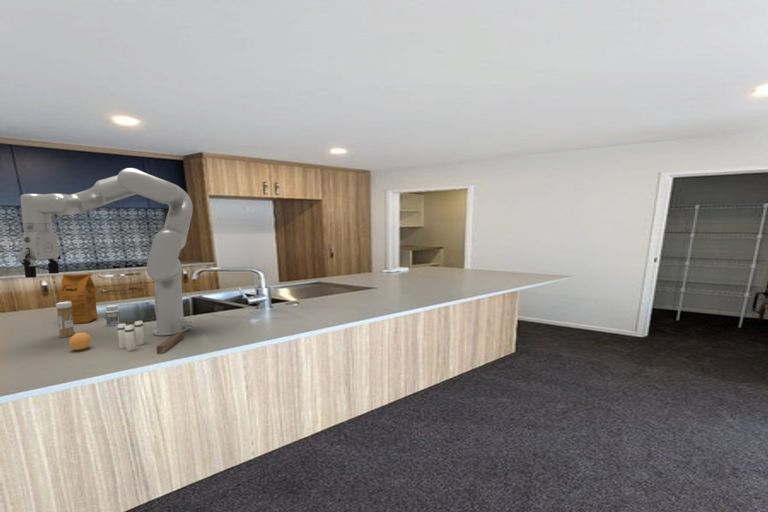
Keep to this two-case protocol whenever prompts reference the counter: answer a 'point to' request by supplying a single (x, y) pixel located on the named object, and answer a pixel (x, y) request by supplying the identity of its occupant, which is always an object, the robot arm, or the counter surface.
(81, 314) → the coffee package
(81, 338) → the ball
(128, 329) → the pin
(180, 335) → the brown wooden bar
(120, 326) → the front pin
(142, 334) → the pin
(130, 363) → the counter surface
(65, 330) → the sprinkles bottle
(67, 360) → the counter surface
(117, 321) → the pill bottle
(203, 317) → the counter surface
